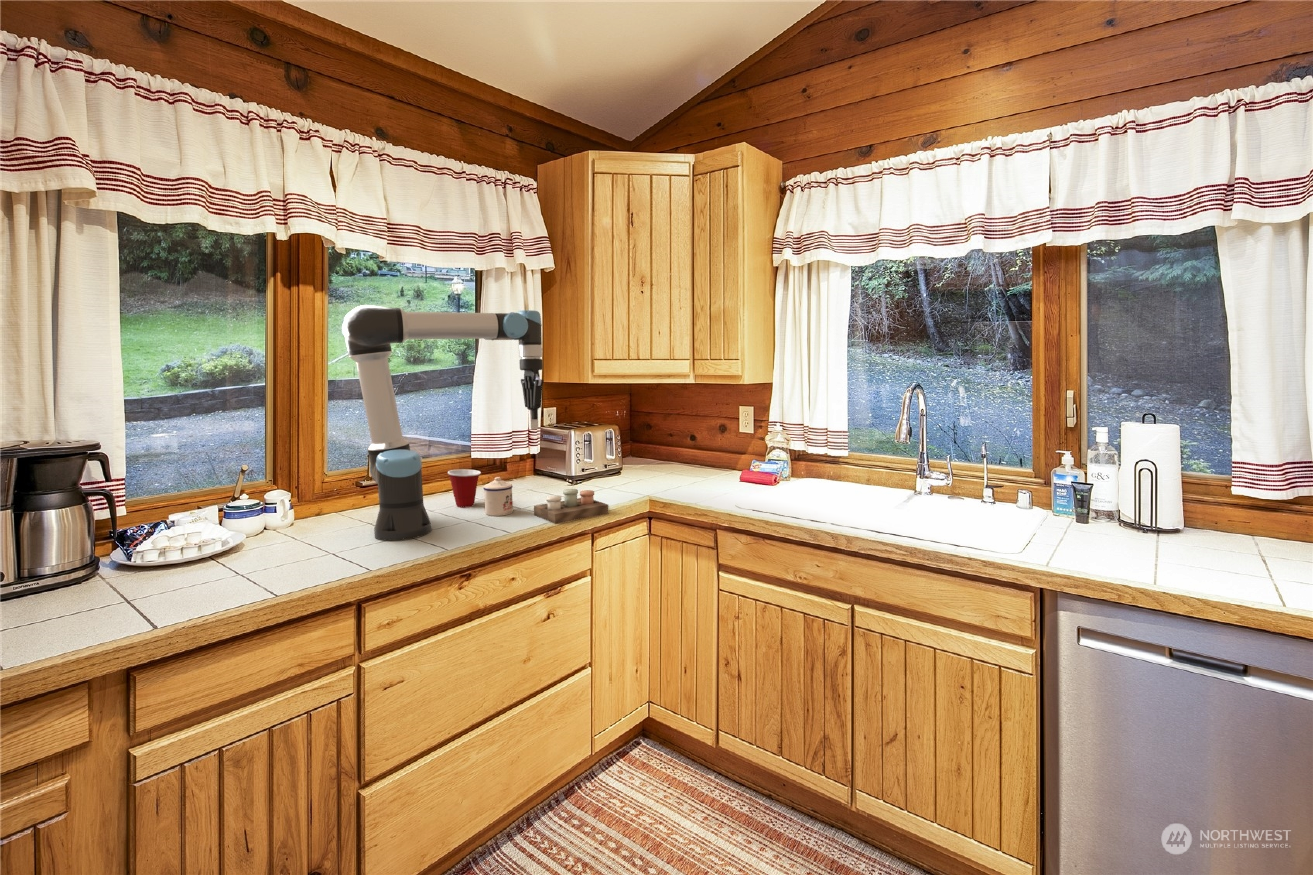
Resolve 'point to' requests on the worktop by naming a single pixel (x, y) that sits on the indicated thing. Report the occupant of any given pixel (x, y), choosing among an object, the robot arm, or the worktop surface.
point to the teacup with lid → (498, 498)
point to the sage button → (570, 497)
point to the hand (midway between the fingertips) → (533, 428)
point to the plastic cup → (464, 486)
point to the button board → (571, 511)
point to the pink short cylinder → (587, 497)
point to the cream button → (553, 502)
